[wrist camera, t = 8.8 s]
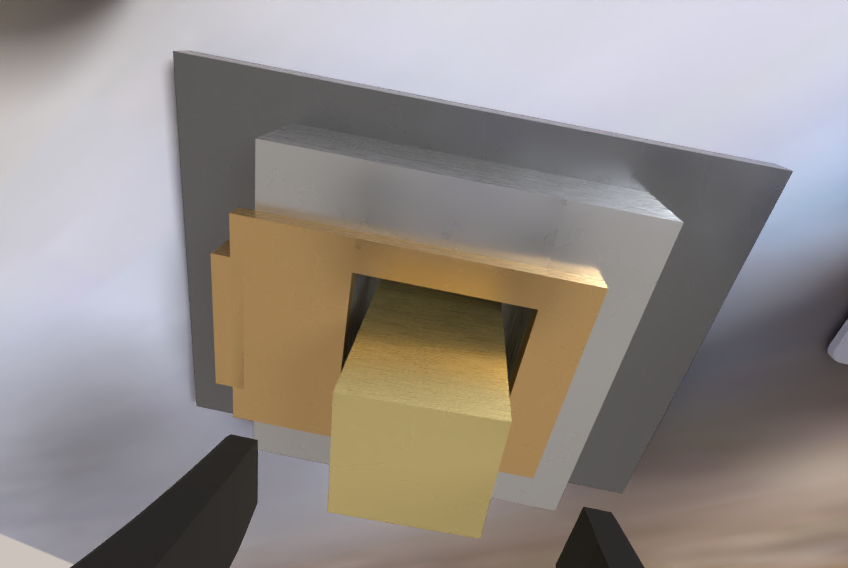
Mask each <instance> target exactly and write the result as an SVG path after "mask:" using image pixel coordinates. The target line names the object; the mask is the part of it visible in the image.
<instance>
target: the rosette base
mask: <svg viewBox="0 0 848 568" xmlns="http://www.w3.org/2000/svg"><path fill="white" fill-rule="evenodd" d="M173 57H174V72H175V87H176V103H177V118H178V133H179V148H180V163H181V178H182V193H183V208H184V223H185V238H186V254H187V269H188V284H189V299H190V314H191V329H192V344H193V359H194V374H195V389H196V404H197V406H199V407H204V408H209V409H214V410H219V411H223V412H228V413H233V417H236V418H241V419H246V420H251V421H254V439H255V440H258V450H262V451H266V452H271V453H276V454H281V455H286V456H291V457H296V458H300V459H305V460H310V461H315V462H320V463H325V464H329V465H330V447H331V424H332V400H333V391H334V389H335V386H336V384H337V381H338V379H339V377H340V374H341V372H342V370H343V367H344V365H345V362H346V360H347V358H348V355H349V353H350V351H351V348H352V346H353V344H354V341H355V339H356V336H357V334H358V332H359V329H360V327H361V325H362V322H363V320H364V317H365V315H366V313H367V310H368V308H369V306H370V303H371V301H372V299H373V296H374V294H375V291H376V289H377V287H378V284H379V282H380V280H381V278H382V279H387V280H392V281H397V282H402V283H407V284H412V285H417V286H422V287H427V288H432V289H437V290H442V291H447V292H452V293H457V294H462V295H467V296H472V297H477V298H482V299H487V300H492V301H497V302H501V306H502V317H503V329H504V340H505V351H506V363H507V374H508V386H509V397H510V408H511V420H512V423H511V426H510V430H509V434H508V438H507V441H506V445H505V449H504V452H503V456H502V460H501V463H500V467H499V471H498V474H497V478H496V482H495V485H494V489H493V493H492V496H491V498H494V499H499V500H504V501H509V502H514V503H518V504H523V505H528V506H533V507H538V508H543V509H548V510H552V511H555V510H556V508H557V505H558V503H559V501H560V499H561V496H562V494H563V492H564V490H565V487H566V485H567V483H568V482H569V483H574V484H579V485H584V486H589V487H594V488H599V489H603V490H608V491H613V492H618V493H623V491H624V489H625V487H626V485H627V483H628V481H629V479H630V478H631V476H632V474H633V472H634V470H635V468H636V466H637V464H638V462H639V461H640V459H641V457H642V455H643V453H644V451H645V449H646V447H647V446H648V444H649V442H650V440H651V438H652V436H653V434H654V432H655V430H656V429H657V427H658V425H659V423H660V421H661V419H662V417H663V415H664V413H665V412H666V410H667V408H668V406H669V404H670V402H671V400H672V398H673V396H674V395H675V393H676V391H677V389H678V387H679V385H680V383H681V381H682V379H683V378H684V376H685V374H686V372H687V370H688V368H689V366H690V364H691V363H692V361H693V359H694V357H695V355H696V353H697V351H698V349H699V347H700V346H701V344H702V342H703V340H704V338H705V336H706V334H707V332H708V330H709V329H710V327H711V325H712V323H713V321H714V319H715V317H716V315H717V313H718V312H719V310H720V308H721V306H722V304H723V302H724V300H725V298H726V297H727V295H728V293H729V291H730V289H731V287H732V285H733V283H734V281H735V280H736V278H737V276H738V274H739V272H740V270H741V268H742V266H743V264H744V263H745V261H746V259H747V257H748V255H749V253H750V251H751V249H752V247H753V246H754V244H755V242H756V240H757V238H758V236H759V234H760V232H761V230H762V229H763V227H764V225H765V223H766V221H767V219H768V217H769V215H770V214H771V212H772V210H773V208H774V206H775V204H776V202H777V200H778V198H779V197H780V195H781V193H782V191H783V189H784V187H785V185H786V183H787V181H788V180H789V178H790V176H791V174H792V172H793V171H791V170H789V169H786V168H784V167H781V166H779V165H776V164H772V163H767V162H761V161H756V160H751V159H746V158H741V157H736V156H731V155H725V154H720V153H715V152H710V151H705V150H700V149H694V148H689V147H684V146H679V145H674V144H669V143H663V142H658V141H653V140H648V139H643V138H638V137H632V136H627V135H622V134H617V133H612V132H607V131H601V130H596V129H591V128H586V127H581V126H576V125H570V124H565V123H560V122H555V121H550V120H545V119H539V118H534V117H529V116H524V115H519V114H514V113H508V112H503V111H498V110H493V109H488V108H483V107H477V106H472V105H467V104H462V103H457V102H452V101H446V100H441V99H436V98H431V97H426V96H421V95H415V94H410V93H405V92H400V91H395V90H390V89H384V88H379V87H374V86H369V85H364V84H359V83H353V82H348V81H343V80H338V79H333V78H328V77H322V76H317V75H312V74H307V73H302V72H297V71H291V70H286V69H281V68H276V67H271V66H266V65H260V64H255V63H250V62H245V61H240V60H235V59H229V58H224V57H219V56H214V55H209V54H204V53H198V52H193V51H173Z"/></svg>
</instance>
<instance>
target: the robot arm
mask: <svg viewBox="0 0 848 568" xmlns="http://www.w3.org/2000/svg"><path fill="white" fill-rule="evenodd" d="M828 354H829V355H830V356H831V357H832V358H833V359H834V360H835V361H837V362H839V363H843V364H848V319H847V320H846V322H845V323H844V325H843V326H842V327H841V329H840V330H839V332H838V333H837V335H836V336H835V338H834V339H833V341H832V342H831V344H830V345H829V347H828ZM257 490H258V440H255V439H250V438H245V437H241V436H236V435H229V436H227V437H226V438H225V439H224V440H223V441H221V442H220V443H219V444H218V445H217V446H216V447H215V448H214V449H213V450H212V451H211V452H210V453H209V454H208V455H206V456H205V457H204V458H203V459H202V460H201V461H200V462H199V463H198V464H197V465H195V466H194V467H193V468H192V469H191V470H190V471H189V472H188V473H187V474H185V475H184V476H183V477H182V478H181V479H180V480H179V481H178V482H176V483H175V484H174V485H173V486H172V487H171V488H170V489H168V490H167V491H166V492H165V493H164V494H162V495H161V496H160V497H159V498H158V499H157V500H155V501H154V502H153V503H152V504H151V505H149V506H148V507H147V508H146V509H145V510H144V511H142V512H141V513H140V514H139V515H138V516H136V517H135V518H134V519H133V520H131V521H130V522H129V523H128V524H126V525H125V526H124V527H123V528H121V529H120V530H119V531H117V532H116V533H115V534H114V535H112V536H111V537H110V538H108V539H107V540H106V541H105V542H103V543H102V544H101V545H100V546H98V547H97V548H96V549H94V550H93V551H92V552H91V553H89V554H88V555H87V556H85V557H84V558H83V559H81V560H80V561H79V562H77V563H76V564H74V565H73V566H72V567H71V568H229V567H230V565H231V563H232V562H233V560H234V558H235V556H236V554H237V552H238V550H239V547H240V545H241V542H242V540H243V538H244V535H245V533H246V530H247V528H248V525H249V523H250V520H251V518H252V515H253V513H254V510H255V508H256V505H257ZM556 568H644V566H643V564H642V563H641V561H640V559H639V558H638V556H637V554H636V553H635V551H634V549H633V548H632V546H631V544H630V542H629V541H628V539H627V537H626V536H625V534H624V532H623V531H622V529H621V527H620V525H619V524H618V522H617V520H616V519H615V517H614V516H613V514H612V513H611V512H606V511H601V510H597V509H592V508H587V507H583V509H582V511H581V513H580V515H579V517H578V519H577V522H576V524H575V526H574V528H573V530H572V532H571V534H570V536H569V538H568V540H567V542H566V544H565V547H564V549H563V551H562V553H561V555H560V557H559V559H558V561H557V563H556Z"/></svg>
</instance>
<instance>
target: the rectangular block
mask: <svg viewBox="0 0 848 568" xmlns="http://www.w3.org/2000/svg"><path fill="white" fill-rule="evenodd" d="M511 423H512V420H511V408H510V397H509V386H508V374H507V363H506V351H505V340H504V329H503V317H502V306H501V302H497V301H492V300H487V299H482V298H477V297H472V296H467V295H462V294H457V293H452V292H447V291H442V290H437V289H432V288H427V287H422V286H417V285H412V284H407V283H402V282H397V281H392V280H387V279H382V278H381V280H380V282H379V284H378V287H377V289H376V291H375V294H374V296H373V299H372V301H371V303H370V306H369V308H368V310H367V313H366V315H365V317H364V320H363V322H362V325H361V327H360V329H359V332H358V334H357V336H356V339H355V341H354V344H353V346H352V348H351V351H350V353H349V355H348V358H347V360H346V362H345V365H344V367H343V370H342V372H341V374H340V377H339V379H338V381H337V384H336V386H335V389H334V391H333V400H332V424H331V447H330V471H329V494H328V512H330V513H336V514H341V515H347V516H353V517H359V518H364V519H370V520H376V521H381V522H387V523H393V524H399V525H404V526H410V527H416V528H422V529H427V530H433V531H439V532H444V533H450V534H456V535H462V536H467V537H473V538H479V539H480V537H481V533H482V530H483V526H484V522H485V519H486V515H487V511H488V508H489V504H490V500H491V496H492V493H493V489H494V485H495V482H496V478H497V474H498V471H499V467H500V463H501V460H502V456H503V452H504V449H505V445H506V441H507V438H508V434H509V430H510V426H511Z"/></svg>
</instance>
